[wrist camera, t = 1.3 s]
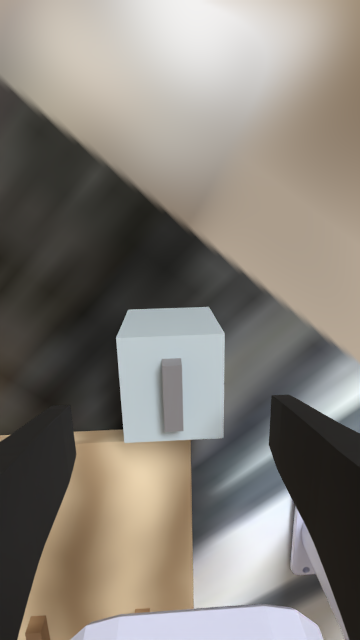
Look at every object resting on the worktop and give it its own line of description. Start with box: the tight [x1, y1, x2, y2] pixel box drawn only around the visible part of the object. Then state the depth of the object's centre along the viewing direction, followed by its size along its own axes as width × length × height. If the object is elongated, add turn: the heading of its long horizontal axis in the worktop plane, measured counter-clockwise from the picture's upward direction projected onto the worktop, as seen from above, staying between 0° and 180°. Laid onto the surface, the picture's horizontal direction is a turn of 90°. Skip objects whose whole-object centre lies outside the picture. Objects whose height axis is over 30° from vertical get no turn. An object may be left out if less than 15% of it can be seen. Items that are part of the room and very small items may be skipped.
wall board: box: [0, 430, 194, 640], centre depth 22 cm, size 14×20×2 cm
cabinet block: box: [116, 307, 225, 443], centre depth 16 cm, size 4×5×6 cm
